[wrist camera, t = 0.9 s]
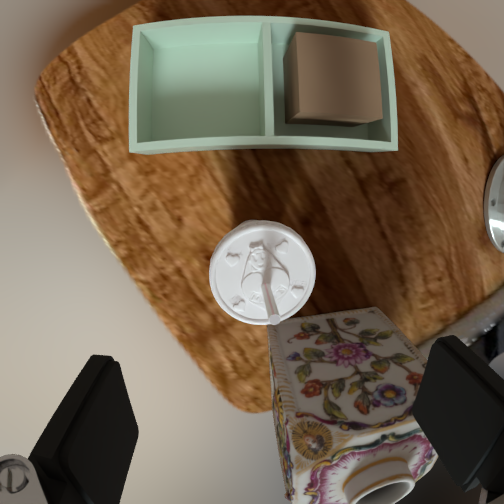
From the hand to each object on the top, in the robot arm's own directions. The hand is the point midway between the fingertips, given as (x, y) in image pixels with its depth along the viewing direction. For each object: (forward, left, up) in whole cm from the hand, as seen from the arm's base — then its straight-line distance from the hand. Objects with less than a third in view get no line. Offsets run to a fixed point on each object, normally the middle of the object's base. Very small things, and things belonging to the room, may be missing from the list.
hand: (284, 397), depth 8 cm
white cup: (0, 0, -21) cm, 21 cm away
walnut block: (-6, -13, -20) cm, 24 cm away
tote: (-1, -13, -20) cm, 24 cm away
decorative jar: (-7, +13, -21) cm, 25 cm away
